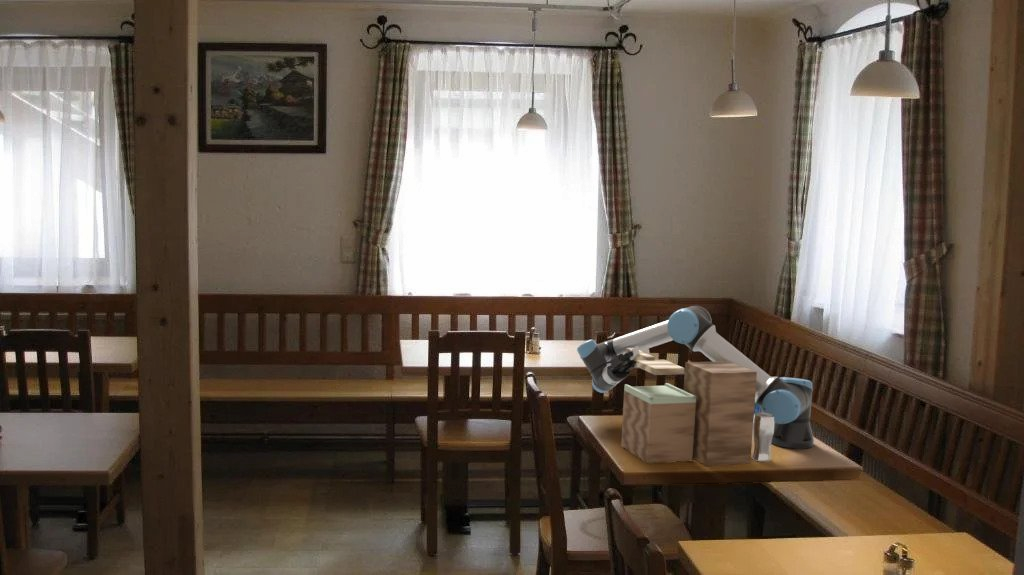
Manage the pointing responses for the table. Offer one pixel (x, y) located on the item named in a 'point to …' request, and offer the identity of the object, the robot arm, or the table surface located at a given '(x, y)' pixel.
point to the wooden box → (658, 429)
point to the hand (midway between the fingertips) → (642, 349)
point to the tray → (660, 394)
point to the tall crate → (722, 411)
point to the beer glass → (762, 436)
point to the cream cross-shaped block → (656, 364)
